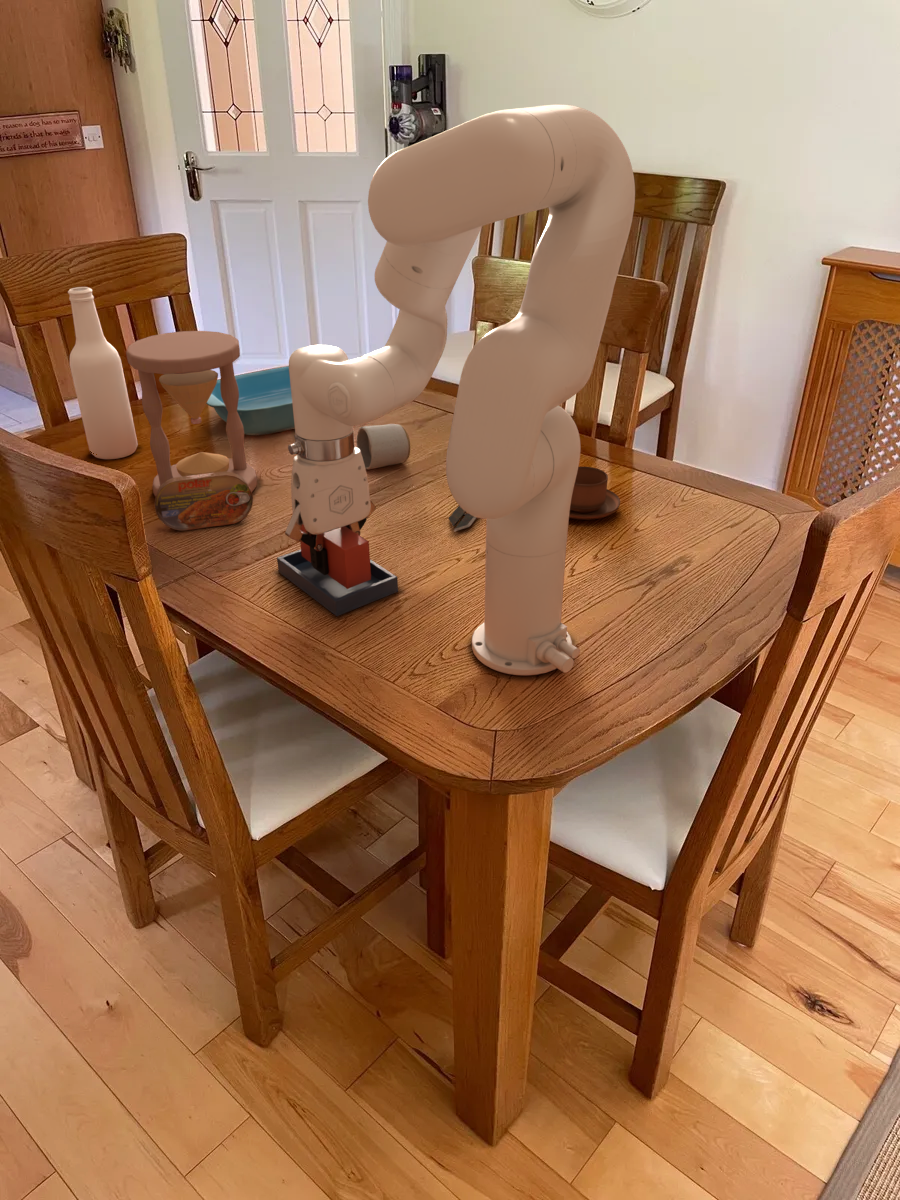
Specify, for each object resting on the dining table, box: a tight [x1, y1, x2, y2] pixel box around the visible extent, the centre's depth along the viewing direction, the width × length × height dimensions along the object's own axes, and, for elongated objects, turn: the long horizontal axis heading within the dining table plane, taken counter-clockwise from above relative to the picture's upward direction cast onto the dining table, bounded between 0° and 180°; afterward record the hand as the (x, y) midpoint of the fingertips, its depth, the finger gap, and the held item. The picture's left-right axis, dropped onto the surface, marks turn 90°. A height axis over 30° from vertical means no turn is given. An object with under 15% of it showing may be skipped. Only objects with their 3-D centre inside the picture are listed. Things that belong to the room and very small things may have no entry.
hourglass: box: [125, 330, 258, 497], centre depth 148 cm, size 18×18×25 cm
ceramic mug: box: [355, 423, 411, 470], centre depth 162 cm, size 11×8×8 cm
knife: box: [448, 505, 478, 533], centre depth 149 cm, size 25×6×1 cm, turn 154°
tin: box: [153, 471, 254, 532], centre depth 141 cm, size 15×3×8 cm, turn 105°
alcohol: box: [67, 286, 139, 460], centre depth 162 cm, size 9×9×30 cm
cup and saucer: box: [569, 466, 621, 521], centre depth 145 cm, size 12×12×6 cm
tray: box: [276, 548, 399, 617], centre depth 126 cm, size 16×10×2 cm, turn 39°
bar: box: [299, 524, 371, 589], centre depth 124 cm, size 4×12×6 cm, turn 39°
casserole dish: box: [206, 365, 295, 436], centre depth 185 cm, size 37×22×7 cm, turn 123°
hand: (335, 564), depth 125 cm, fingers closed on bar, 4 cm apart
